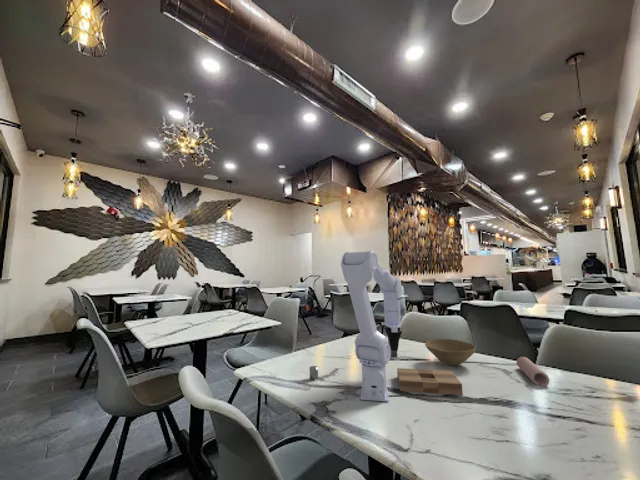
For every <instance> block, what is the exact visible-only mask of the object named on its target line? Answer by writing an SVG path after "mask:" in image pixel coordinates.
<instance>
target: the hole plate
mask: <svg viewBox="0 0 640 480" xmlns="http://www.w3.org/2000/svg"><path fill="white" fill-rule="evenodd" d="M396 373H397V381H398V386H399V390H400V392H407V393H408V392H410V393H411V392H412V393H427V394H428V393H429V394H442V395H443V394H445V395H463V383H461V381H460V379H458V377H457V376H456V375H455V374H454V372H453V371H452V370H445V369H444V370H443V369H424V368H423V369H421V368H420V369H419V368H401V367H400V368H399V367H398V368H396Z"/></svg>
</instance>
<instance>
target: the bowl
mask: <svg viewBox="0 0 640 480" xmlns="http://www.w3.org/2000/svg"><path fill="white" fill-rule="evenodd" d="M424 345H425V348H426V349H427V350H428V351H429V352H430V353H431V354H432V355H433V356H434V357H435V358H437V360H438V361H440V362H441V363H443V364H444V365H448V366H453V367H455V366H460V365H462V364H463V363H465V362H466V361H467V360H468V359H470V357H472V356H473V355H474V353H476V350H477V347H476V345H474V344H471V343H470V342H466V341H462V340H458V339H450V338H445V339H444V338H434V339H429V340H426V341H425V343H424Z"/></svg>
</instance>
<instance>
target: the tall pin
mask: <svg viewBox="0 0 640 480" xmlns="http://www.w3.org/2000/svg"><path fill="white" fill-rule="evenodd" d="M387 343H388V344H389V346H390V342H389V338H388V337H387ZM390 349H391V347H390ZM390 358H393V359H395V358H398V351H392V350H391V357H390Z"/></svg>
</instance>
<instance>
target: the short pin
mask: <svg viewBox="0 0 640 480" xmlns="http://www.w3.org/2000/svg"><path fill="white" fill-rule="evenodd" d="M310 379H311V380H315V379H318V380H319V367H318V365H317V366H316V365H312V366H309V380H310ZM311 380H310V381H311Z"/></svg>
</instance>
